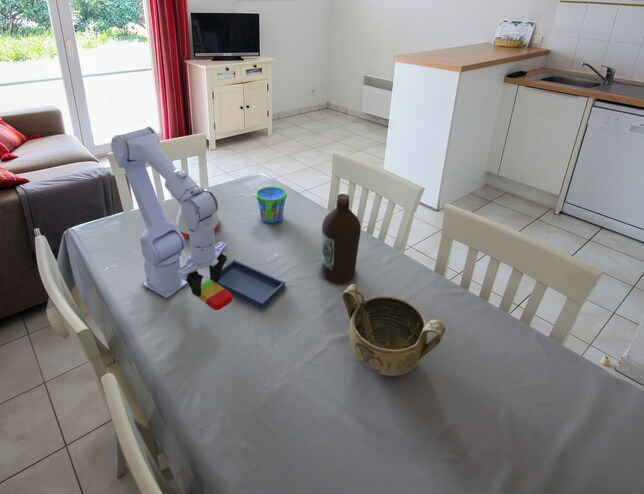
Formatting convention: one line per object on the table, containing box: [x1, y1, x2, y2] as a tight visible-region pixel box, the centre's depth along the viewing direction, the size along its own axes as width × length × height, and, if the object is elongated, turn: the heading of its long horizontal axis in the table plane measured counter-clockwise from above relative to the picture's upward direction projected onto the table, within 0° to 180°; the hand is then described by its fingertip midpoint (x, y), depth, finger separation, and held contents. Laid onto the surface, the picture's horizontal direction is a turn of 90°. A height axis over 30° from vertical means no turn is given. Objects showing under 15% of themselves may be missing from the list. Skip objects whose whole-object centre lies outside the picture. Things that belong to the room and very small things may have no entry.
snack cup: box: [255, 186, 288, 224], centre depth 149 cm, size 16×10×10 cm
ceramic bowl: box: [342, 283, 446, 377], centre depth 93 cm, size 22×17×15 cm
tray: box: [209, 259, 286, 310], centre depth 117 cm, size 18×10×2 cm, turn 57°
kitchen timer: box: [175, 205, 220, 239], centre depth 142 cm, size 14×14×15 cm
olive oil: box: [321, 193, 362, 285], centre depth 119 cm, size 11×11×25 cm
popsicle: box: [197, 278, 233, 311], centre depth 106 cm, size 6×15×2 cm, turn 48°
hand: (205, 287), depth 106 cm, fingers closed on popsicle, 6 cm apart
